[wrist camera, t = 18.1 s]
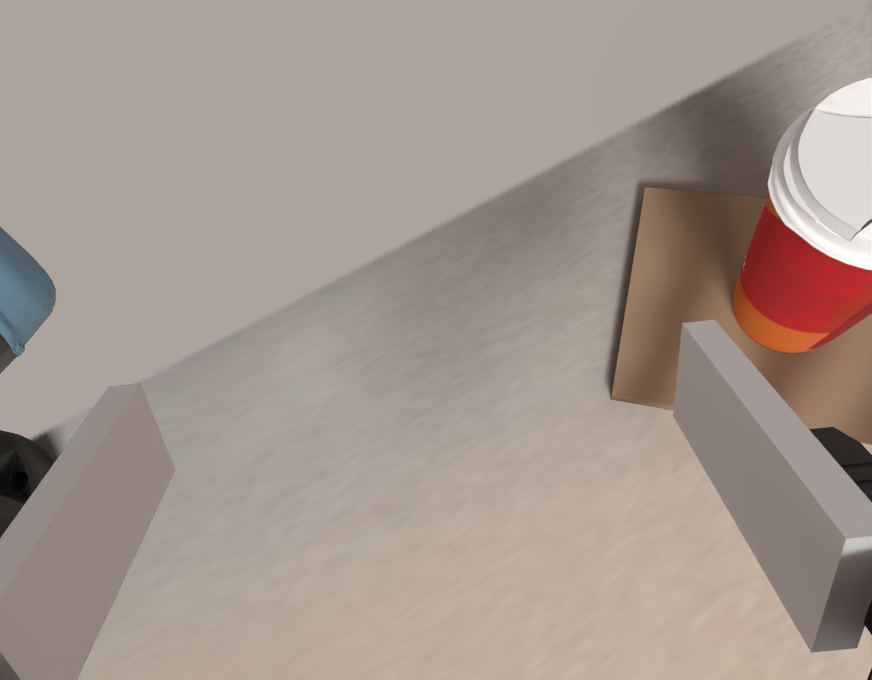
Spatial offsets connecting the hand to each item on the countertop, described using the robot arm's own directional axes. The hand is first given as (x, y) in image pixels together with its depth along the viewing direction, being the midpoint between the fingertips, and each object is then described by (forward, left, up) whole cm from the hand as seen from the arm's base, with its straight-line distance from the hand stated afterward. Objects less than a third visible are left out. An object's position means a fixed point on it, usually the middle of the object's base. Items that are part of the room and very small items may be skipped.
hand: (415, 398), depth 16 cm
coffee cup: (+13, +14, -24) cm, 30 cm away
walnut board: (+14, +14, -25) cm, 31 cm away
